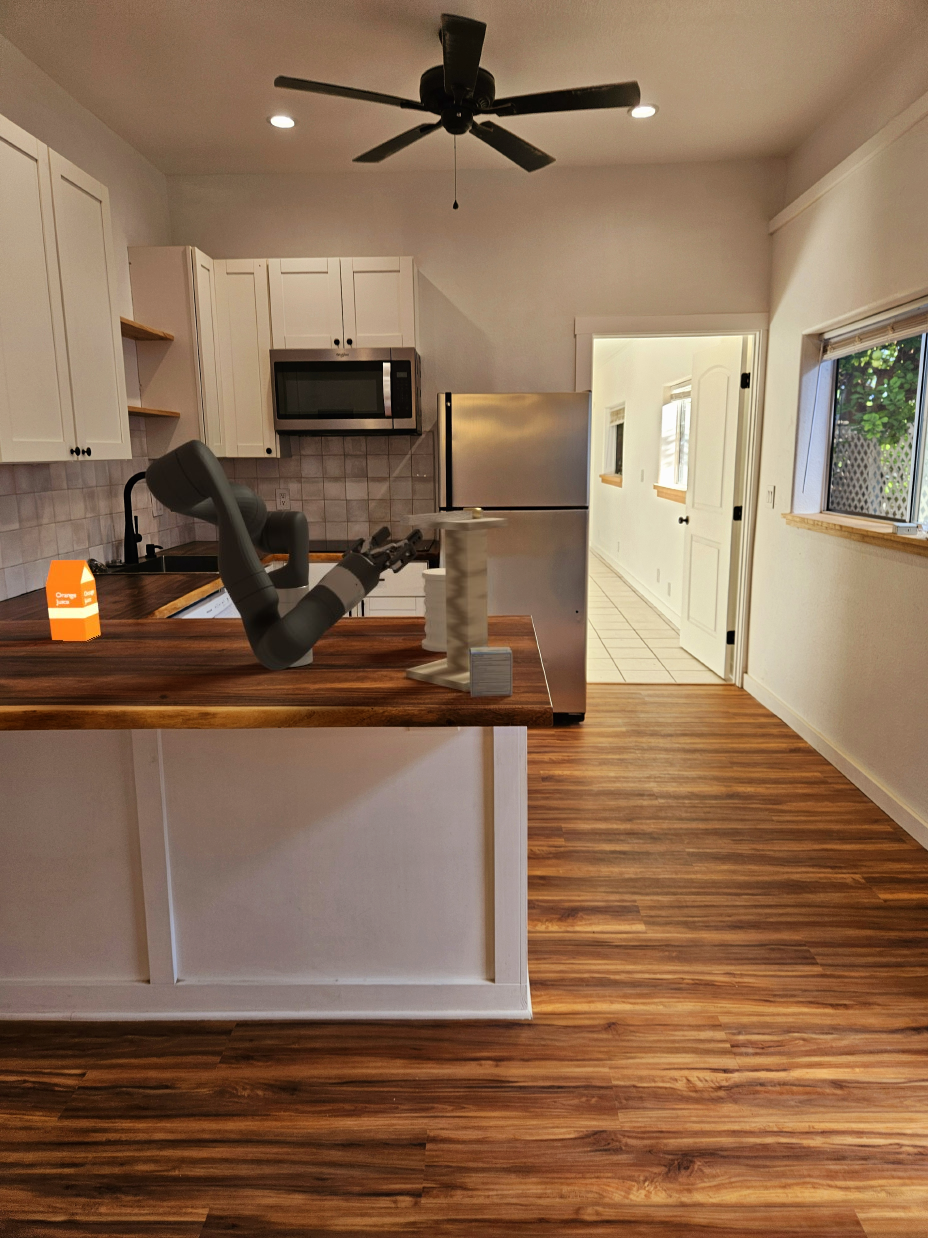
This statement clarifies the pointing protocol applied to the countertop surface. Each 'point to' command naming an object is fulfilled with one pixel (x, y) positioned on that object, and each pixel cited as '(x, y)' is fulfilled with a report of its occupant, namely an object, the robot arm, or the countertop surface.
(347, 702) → the countertop surface
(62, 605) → the orange juice
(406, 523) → the slotted wooden block
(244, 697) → the countertop surface
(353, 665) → the countertop surface
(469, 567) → the tool stand
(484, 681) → the medicine box
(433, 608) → the decorative container
